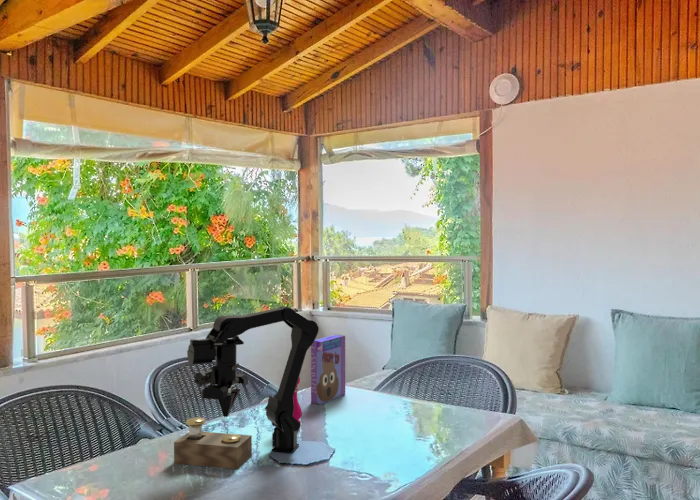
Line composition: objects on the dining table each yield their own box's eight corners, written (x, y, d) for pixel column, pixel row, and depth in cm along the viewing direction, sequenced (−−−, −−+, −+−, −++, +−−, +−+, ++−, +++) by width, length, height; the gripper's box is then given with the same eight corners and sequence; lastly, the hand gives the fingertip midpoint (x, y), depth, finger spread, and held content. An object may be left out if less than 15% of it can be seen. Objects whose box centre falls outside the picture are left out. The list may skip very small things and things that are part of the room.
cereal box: (321, 404, 225) (321, 341, 225) (311, 403, 228) (311, 340, 227) (345, 394, 240) (345, 335, 240) (335, 392, 243) (335, 334, 242)
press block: (251, 456, 172) (251, 435, 172) (237, 469, 162) (237, 447, 162) (191, 450, 176) (191, 430, 176) (174, 463, 166) (173, 441, 166)
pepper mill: (298, 431, 194) (298, 370, 194) (277, 429, 196) (277, 369, 195) (304, 424, 201) (304, 365, 201) (284, 423, 203) (283, 364, 202)
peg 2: (243, 457, 170) (243, 435, 170) (236, 464, 165) (236, 441, 165) (226, 455, 171) (226, 433, 171) (218, 462, 166) (218, 439, 166)
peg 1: (208, 440, 172) (208, 418, 172) (199, 446, 167) (199, 423, 167) (191, 438, 173) (191, 416, 173) (182, 444, 168) (182, 422, 168)
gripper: (214, 353, 179) (213, 405, 179) (183, 366, 160) (183, 424, 161) (248, 355, 176) (248, 408, 176) (222, 368, 158) (222, 427, 158)
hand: (225, 416), depth 168 cm, fingers closed
